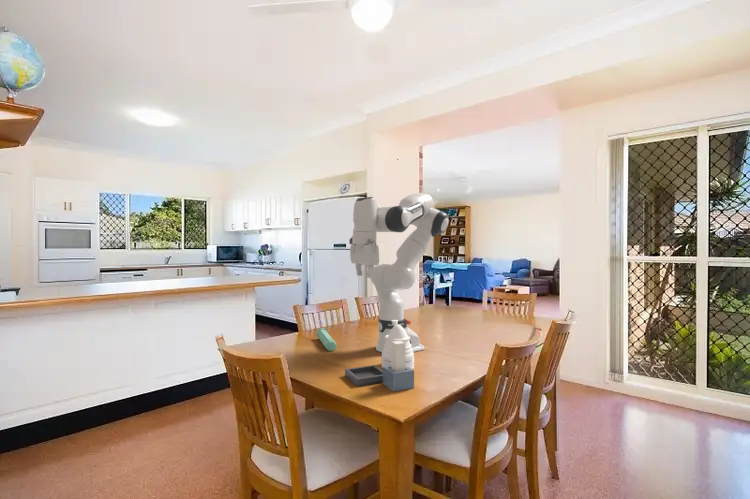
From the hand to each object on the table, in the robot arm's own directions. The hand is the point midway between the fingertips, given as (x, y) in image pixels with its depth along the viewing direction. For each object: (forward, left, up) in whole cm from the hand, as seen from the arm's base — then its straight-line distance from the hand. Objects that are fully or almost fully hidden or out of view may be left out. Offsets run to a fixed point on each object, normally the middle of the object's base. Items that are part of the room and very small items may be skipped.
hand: (364, 276), depth 149 cm
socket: (-5, +18, -36) cm, 41 cm away
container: (0, -45, -37) cm, 58 cm away
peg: (-5, +18, -36) cm, 41 cm away
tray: (+2, +7, -36) cm, 37 cm away
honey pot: (-15, -1, -37) cm, 40 cm away
